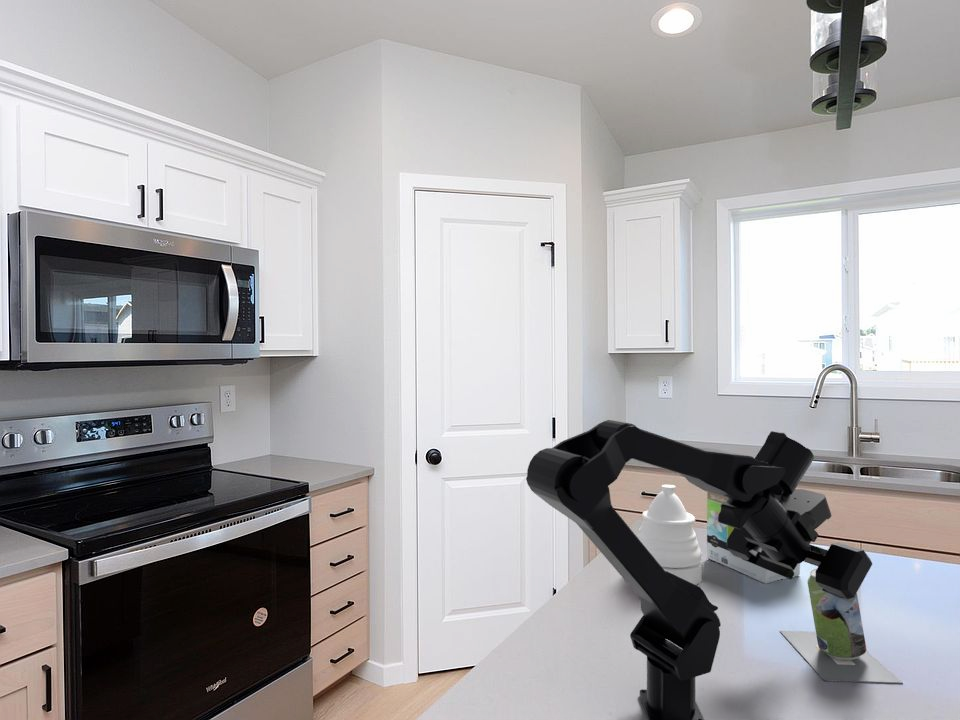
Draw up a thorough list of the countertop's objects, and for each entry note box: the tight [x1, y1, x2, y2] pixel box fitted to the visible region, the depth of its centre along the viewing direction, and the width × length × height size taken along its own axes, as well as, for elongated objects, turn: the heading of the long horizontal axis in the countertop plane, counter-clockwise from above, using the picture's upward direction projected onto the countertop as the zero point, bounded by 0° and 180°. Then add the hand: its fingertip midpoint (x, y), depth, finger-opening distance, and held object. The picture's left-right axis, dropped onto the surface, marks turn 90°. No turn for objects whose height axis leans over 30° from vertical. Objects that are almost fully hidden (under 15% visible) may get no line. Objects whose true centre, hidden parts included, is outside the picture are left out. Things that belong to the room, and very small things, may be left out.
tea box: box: [706, 491, 801, 584], centre depth 121 cm, size 15×10×15 cm, turn 25°
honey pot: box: [636, 484, 703, 586], centre depth 118 cm, size 13×13×18 cm
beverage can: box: [807, 568, 867, 660], centre depth 86 cm, size 6×7×12 cm
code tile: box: [779, 630, 904, 685], centre depth 87 cm, size 14×10×1 cm
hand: (820, 587), depth 85 cm, fingers open, 9 cm apart
